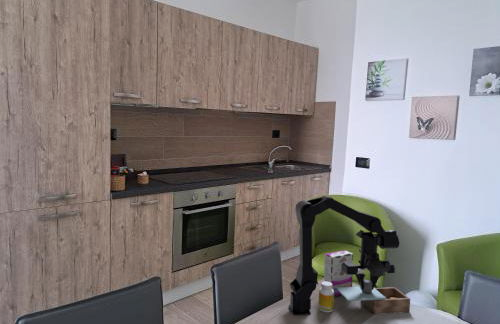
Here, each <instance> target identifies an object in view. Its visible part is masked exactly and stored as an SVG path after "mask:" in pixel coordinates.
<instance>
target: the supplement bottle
mask: <svg viewBox="0 0 500 324" xmlns="http://www.w3.org/2000/svg"><path fill="white" fill-rule="evenodd" d="M320 286H321V287H320V288H318V306H317V307H318V310H319V311H321V312H323V313H331V312H333V311H334V306H335V305H334V302H335V297H334V290H333V289H332V283H331V282H328V281H324V280H323V281H322V282H320Z"/></svg>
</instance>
